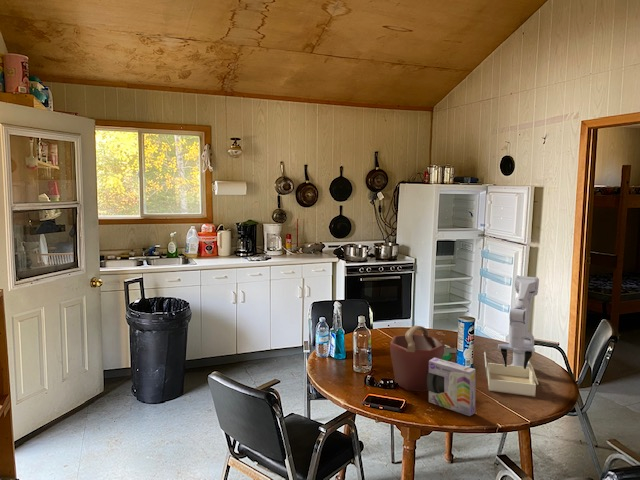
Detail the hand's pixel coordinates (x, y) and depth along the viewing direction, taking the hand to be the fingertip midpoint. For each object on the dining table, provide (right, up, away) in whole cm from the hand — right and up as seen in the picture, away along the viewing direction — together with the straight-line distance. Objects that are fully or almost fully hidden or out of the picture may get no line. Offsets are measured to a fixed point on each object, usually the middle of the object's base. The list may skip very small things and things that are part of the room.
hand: (515, 367), depth 213 cm
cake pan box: (-34, -11, -21) cm, 41 cm away
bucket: (-43, -8, +2) cm, 44 cm away
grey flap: (-11, 0, +3) cm, 12 cm away
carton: (-2, -8, +1) cm, 8 cm away
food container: (-25, -5, +23) cm, 35 cm away
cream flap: (+6, -1, -2) cm, 7 cm away
